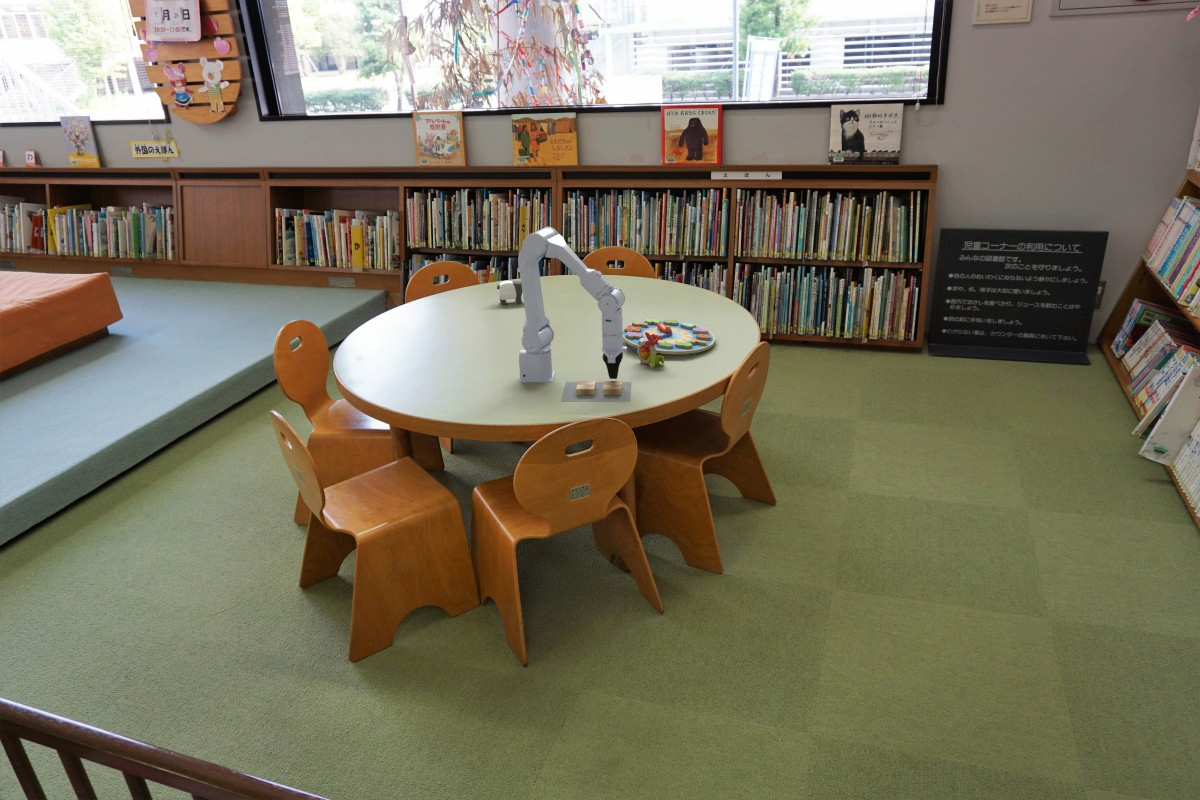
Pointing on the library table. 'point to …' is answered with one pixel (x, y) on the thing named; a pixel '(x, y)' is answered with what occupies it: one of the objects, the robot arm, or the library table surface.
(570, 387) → the felt mat
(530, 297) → the robot arm
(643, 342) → the bird rattle
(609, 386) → the right oak tile
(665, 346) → the shape sorting clock
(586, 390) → the left oak tile
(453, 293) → the library table surface
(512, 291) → the giant panda
